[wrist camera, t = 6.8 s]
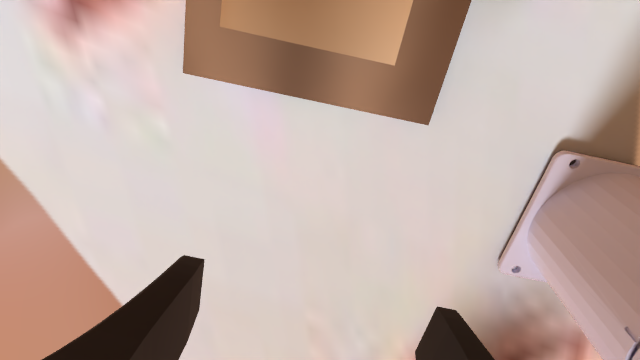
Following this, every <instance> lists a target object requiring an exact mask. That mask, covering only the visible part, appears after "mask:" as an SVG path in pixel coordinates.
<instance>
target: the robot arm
mask: <svg viewBox="0 0 640 360" xmlns="http://www.w3.org/2000/svg"><path fill="white" fill-rule="evenodd" d="M574 159H576V161H575V163H574V164H573V165H571V166H569V164H570V162H571V161H572V160H574ZM497 266H498V269H499V270H500V272H501V273H503V274H507V275H512V276H517V277H522V278H527V279H532V280H538V281H543V282H548V283H549V285H550V286H551V288H552V289H553V290H554V292H555V293H556V295H557V296H558V297H559V299H560V300H561V302H562V303H563V305H564V306H565V307H566V309H567V310H568V312H569V313H570V314H571V316H572V317H573V319H574V320H575V321H576V323H577V324H578V326H579V327H580V328H581V330H582V331H583V333H584V334H585V335H586V337H587V338H588V340H589V341H590V342H591V344H592V345H593V347H594V348H595V349H596V351H597V352H598V354H599V355H600V356H601V358H602V359H603V360H640V166H636V165H631V164H626V163H622V162H617V161H612V160H608V159H603V158H598V157H594V156H589V155H584V154H579V153H575V152H570V151H560V152H558V153H556V154H555V155H554V156H553V158H552V160H551V162H550V164H549V165H548V167H547V169H546V171H545V173H544V175H543V177H542V179H541V181H540V183H539V185H538V187H537V189H536V191H535V192H534V194H533V196H532V198H531V200H530V202H529V204H528V206H527V208H526V210H525V212H524V214H523V216H522V218H521V219H520V221H519V223H518V225H517V227H516V229H515V231H514V233H513V235H512V237H511V239H510V241H509V243H508V244H507V246H506V248H505V250H504V252H503V254H502V256H501V258H500V260H499V262H498V265H497ZM515 266H518V267H517V268H515V269H512V268H513V267H515ZM203 268H204V259H200V258H195V257H190V256H185V255H184V256H182V257H180V258H179V259H178V260H177V261H176V262H175V263H174V264H173V265H171V266H170V267H169V268H168V269H167V270H166V271H165V272H164V273H162V274H161V275H160V276H159V277H158V278H157V279H156V280H154V281H153V282H152V283H151V284H150V285H149V286H147V287H146V288H145V289H144V290H142V291H141V292H140V293H139V294H137V295H136V296H135V297H134V298H132V299H131V300H130V301H129V302H127V303H126V304H125V305H124V306H122V307H121V308H119V309H118V310H117V311H115V312H114V313H113V314H111V315H110V316H109V317H107V318H106V319H105V320H103V321H102V322H101V323H99V324H97V325H96V326H95V327H93V328H92V329H90V330H89V331H87V332H86V333H84V334H83V335H81V336H80V337H78V338H77V339H75V340H73V341H72V342H70V343H69V344H67V345H66V346H64V347H62V348H61V349H59V350H57V351H56V352H54V353H53V354H51V355H49V356H47V357H45V358H44V359H42V360H178V359H179V357H180V355H181V353H182V351H183V349H184V347H185V345H186V343H187V341H188V338H189V336H190V333H191V330H192V328H193V325H194V322H195V319H196V317H197V314H198V311H199V305H200V296H201V287H202V277H203ZM415 355H416V360H494V358H493V357H492V356H491V354H490V353H489V352H488V351H487V349H486V348H485V347H484V345H483V344H482V343H481V342H480V340H479V339H478V338H477V336H476V335H475V334H474V332H473V331H472V330H471V328H470V327H469V326H468V325H467V323H466V322H465V321H464V319H463V318H462V317H461V316H460V314H459V313H458V312H457V311H456V310H452V309H447V308H442V307H437V308H436V310H435V312H434V314H433V316H432V318H431V320H430V322H429V324H428V326H427V328H426V331H425V333H424V335H423V337H422V339H421V341H420V343H419V345H418V347H417V349H416V351H415Z"/></svg>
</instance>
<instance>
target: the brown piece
mask: <svg viewBox="0 0 640 360" xmlns="http://www.w3.org/2000/svg"><path fill="white" fill-rule="evenodd" d="M470 3H471V0H413V3H412V7H411V10H410V14H409V17H408V21H407V24H406V28H405V31H404V35H403V38H402V42H401V45H400V49H399V52H398V56H397V59H396V63H395V66H394V65H390V64H385V63H381V62H376V61H372V60H367V59H363V58H358V57H354V56H349V55H345V54H340V53H336V52H331V51H327V50H322V49H318V48H313V47H309V46H304V45H300V44H295V43H291V42H286V41H282V40H277V39H273V38H268V37H264V36H259V35H255V34H250V33H246V32H241V31H237V30H233V29H228V28H224V27H220V17H221V4H222V0H186V12H185V36H184V61H183V73H185V74H190V75H195V76H200V77H204V78H209V79H214V80H218V81H223V82H228V83H232V84H237V85H242V86H247V87H251V88H256V89H261V90H265V91H270V92H275V93H279V94H284V95H289V96H293V97H298V98H303V99H308V100H312V101H317V102H322V103H326V104H331V105H336V106H340V107H345V108H350V109H355V110H359V111H364V112H369V113H373V114H378V115H383V116H387V117H392V118H397V119H401V120H406V121H411V122H416V123H420V124H425V125H429V122H430V119H431V116H432V113H433V110H434V107H435V104H436V101H437V99H438V96H439V93H440V90H441V87H442V84H443V81H444V78H445V75H446V73H447V70H448V67H449V64H450V61H451V58H452V55H453V52H454V49H455V46H456V44H457V41H458V38H459V35H460V32H461V29H462V26H463V23H464V20H465V17H466V15H467V12H468V9H469V6H470Z"/></svg>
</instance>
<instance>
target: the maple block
mask: <svg viewBox="0 0 640 360" xmlns="http://www.w3.org/2000/svg"><path fill="white" fill-rule="evenodd" d="M412 3H413V0H222V4H221V17H220V27H224V28H228V29H233V30H237V31H241V32H246V33H250V34H255V35H259V36H264V37H268V38H273V39H277V40H282V41H286V42H291V43H295V44H300V45H304V46H309V47H313V48H318V49H322V50H327V51H331V52H336V53H340V54H345V55H349V56H354V57H358V58H363V59H367V60H372V61H376V62H381V63H385V64H390V65H394V66H395V63H396V59H397V56H398V52H399V49H400V45H401V42H402V38H403V35H404V31H405V28H406V24H407V21H408V17H409V14H410V10H411V7H412Z"/></svg>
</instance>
